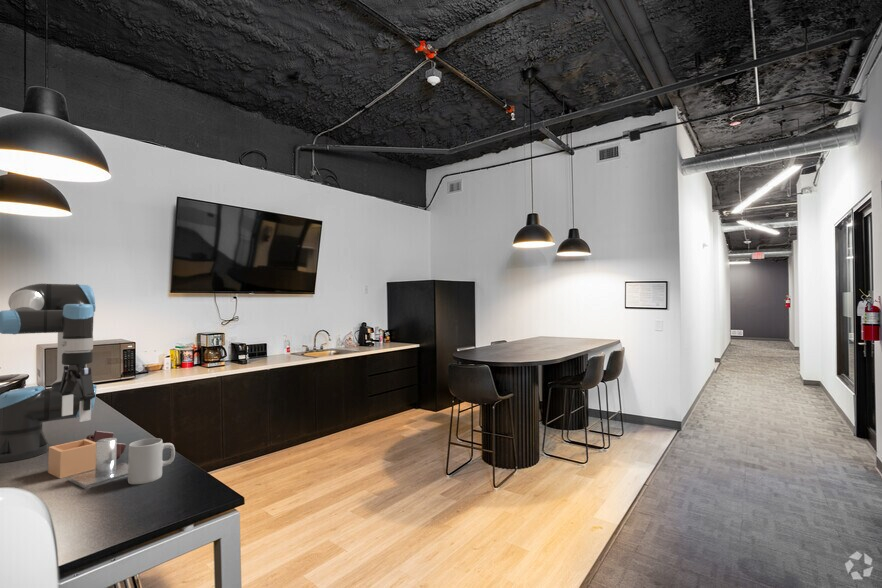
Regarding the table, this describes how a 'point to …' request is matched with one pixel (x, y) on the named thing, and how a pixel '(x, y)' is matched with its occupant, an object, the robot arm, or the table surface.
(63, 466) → the tan wooden box
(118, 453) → the bracket
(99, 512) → the table surface
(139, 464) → the mug
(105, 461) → the duct flange
